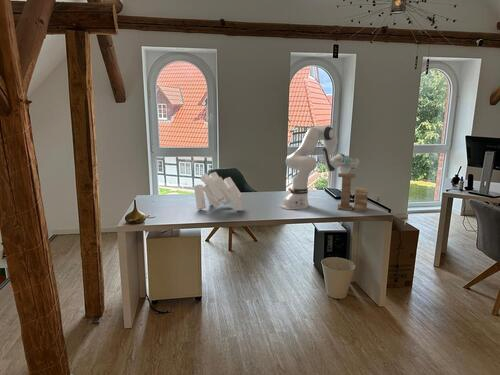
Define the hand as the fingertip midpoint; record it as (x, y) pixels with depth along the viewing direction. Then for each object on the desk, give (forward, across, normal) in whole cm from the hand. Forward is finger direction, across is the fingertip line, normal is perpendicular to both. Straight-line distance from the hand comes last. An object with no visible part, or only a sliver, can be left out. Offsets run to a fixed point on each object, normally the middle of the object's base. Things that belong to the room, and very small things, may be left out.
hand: (346, 158), depth 279 cm
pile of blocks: (+24, -92, +54) cm, 109 cm away
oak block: (+5, +11, +42) cm, 44 cm away
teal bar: (+5, 0, +6) cm, 8 cm away
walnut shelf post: (+5, 0, +42) cm, 43 cm away
